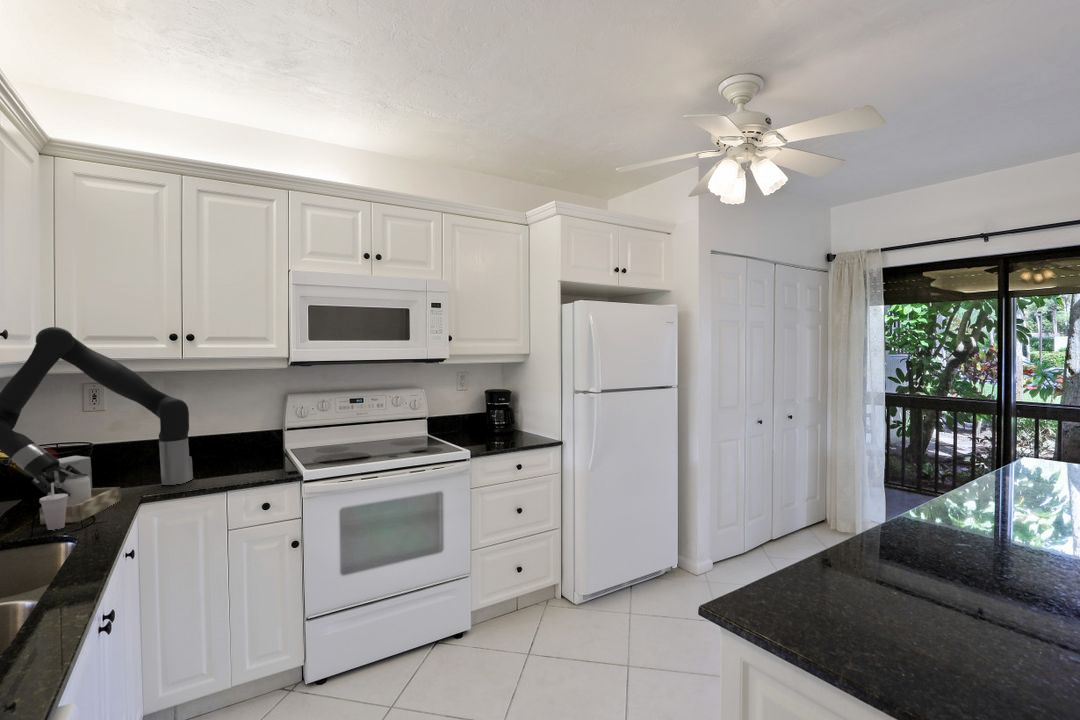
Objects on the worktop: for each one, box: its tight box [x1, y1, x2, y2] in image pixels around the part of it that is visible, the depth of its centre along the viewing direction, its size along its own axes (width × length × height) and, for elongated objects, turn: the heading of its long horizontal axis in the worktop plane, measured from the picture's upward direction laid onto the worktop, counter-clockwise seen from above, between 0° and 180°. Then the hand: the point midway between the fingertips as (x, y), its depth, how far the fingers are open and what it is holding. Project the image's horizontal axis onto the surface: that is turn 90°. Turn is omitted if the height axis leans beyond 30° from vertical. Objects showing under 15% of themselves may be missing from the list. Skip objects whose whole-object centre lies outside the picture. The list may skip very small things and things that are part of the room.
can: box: [64, 474, 91, 506], centre depth 169 cm, size 6×6×12 cm
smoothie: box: [38, 483, 69, 531], centre depth 155 cm, size 6×6×14 cm
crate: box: [39, 486, 122, 525], centre depth 169 cm, size 20×10×5 cm, turn 8°
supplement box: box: [47, 455, 93, 496], centre depth 180 cm, size 9×9×15 cm
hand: (77, 493), depth 169 cm, fingers open, 8 cm apart
